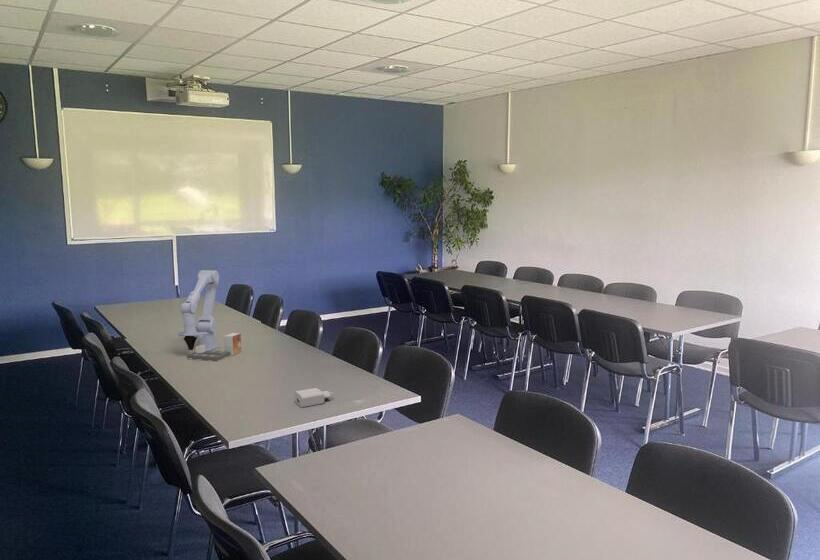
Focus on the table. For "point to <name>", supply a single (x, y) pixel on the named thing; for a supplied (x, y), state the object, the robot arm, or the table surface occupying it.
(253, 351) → the table surface
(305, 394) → the charger
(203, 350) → the fader
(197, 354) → the panel
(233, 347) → the small box
